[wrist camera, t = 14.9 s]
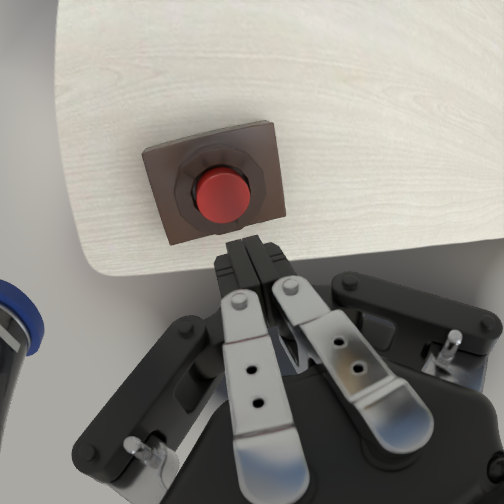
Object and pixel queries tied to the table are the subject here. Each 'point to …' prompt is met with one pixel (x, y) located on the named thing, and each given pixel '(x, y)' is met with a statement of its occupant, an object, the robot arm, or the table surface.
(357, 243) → the table surface
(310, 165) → the table surface
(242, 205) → the release button
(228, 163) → the block
